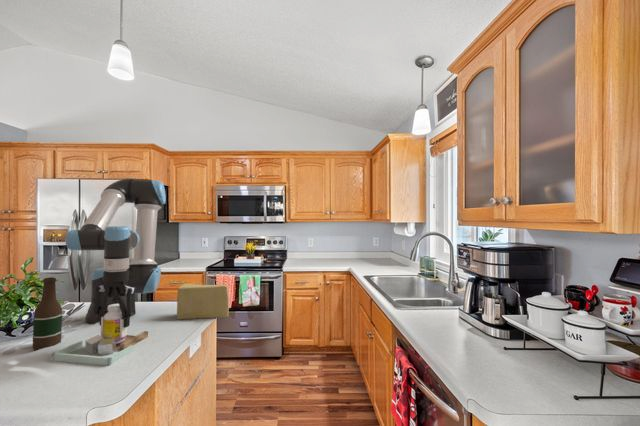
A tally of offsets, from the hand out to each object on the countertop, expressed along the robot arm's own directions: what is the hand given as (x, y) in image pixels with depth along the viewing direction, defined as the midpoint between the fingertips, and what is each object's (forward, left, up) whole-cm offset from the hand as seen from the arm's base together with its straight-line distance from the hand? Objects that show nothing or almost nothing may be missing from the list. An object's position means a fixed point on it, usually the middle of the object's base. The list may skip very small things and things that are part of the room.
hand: (114, 335), depth 107 cm
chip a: (+4, -3, -4) cm, 6 cm away
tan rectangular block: (-37, +14, -5) cm, 40 cm away
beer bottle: (+3, -23, -5) cm, 24 cm away
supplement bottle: (0, 0, -3) cm, 3 cm away
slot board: (-3, 0, -4) cm, 5 cm away
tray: (+8, 0, -4) cm, 9 cm away
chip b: (+5, +2, -4) cm, 7 cm away
